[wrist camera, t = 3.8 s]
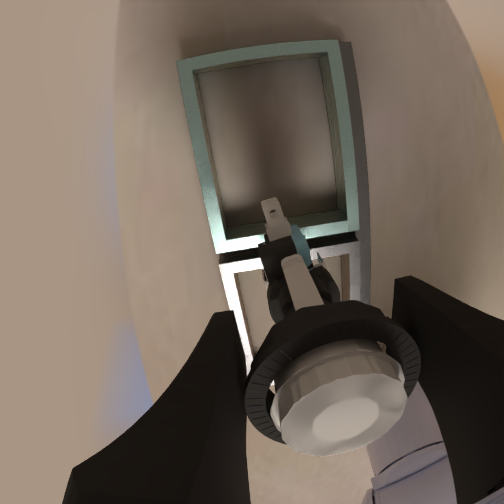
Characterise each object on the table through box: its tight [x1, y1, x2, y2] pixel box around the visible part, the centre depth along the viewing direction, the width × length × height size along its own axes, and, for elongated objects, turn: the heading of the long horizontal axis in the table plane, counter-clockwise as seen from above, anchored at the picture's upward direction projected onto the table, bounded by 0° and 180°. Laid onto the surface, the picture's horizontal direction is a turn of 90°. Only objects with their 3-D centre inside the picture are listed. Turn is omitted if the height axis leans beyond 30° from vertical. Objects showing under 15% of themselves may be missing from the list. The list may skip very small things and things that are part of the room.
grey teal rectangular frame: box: [176, 39, 371, 386], centre depth 19 cm, size 9×22×2 cm, turn 10°
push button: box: [244, 197, 421, 456], centre depth 12 cm, size 7×5×10 cm
